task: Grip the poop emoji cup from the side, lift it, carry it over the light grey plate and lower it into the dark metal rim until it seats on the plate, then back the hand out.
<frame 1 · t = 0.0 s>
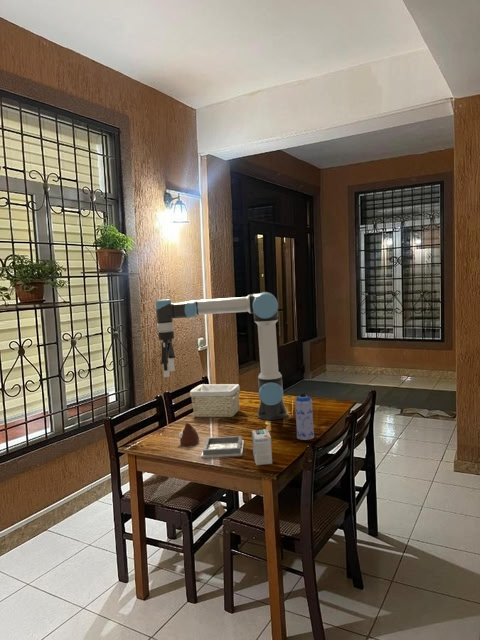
hand: (169, 374, 239), 28 cm above the table, tool pointing down, fingers open, 13 cm apart
aerosol can: (305, 437, 218), on the table
mousse holder: (223, 449, 209), on the table
poop emoji: (189, 443, 221), on the table
light bulb box: (262, 460, 195), on the table
storage basket: (217, 414, 264), on the table
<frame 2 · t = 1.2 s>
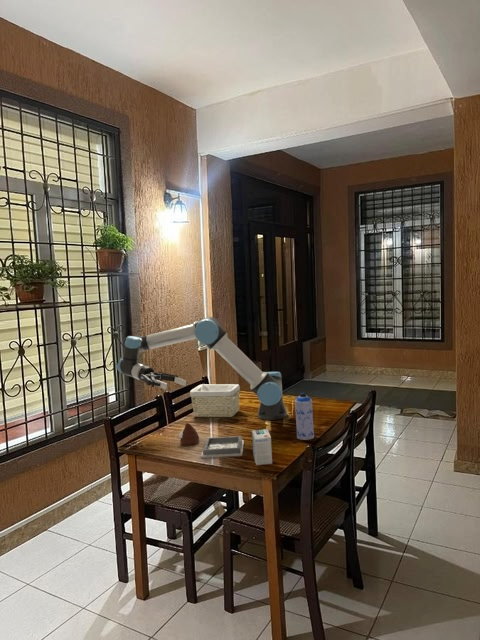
hand: (176, 384, 226), 25 cm above the table, tool horizontal, fingers open, 13 cm apart
nothing on the table moved.
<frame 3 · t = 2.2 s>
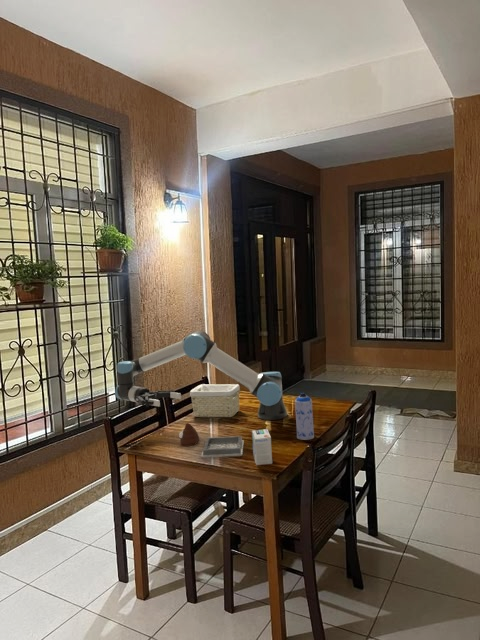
hand: (170, 399, 225), 19 cm above the table, tool horizontal, fingers open, 13 cm apart
nothing on the table moved.
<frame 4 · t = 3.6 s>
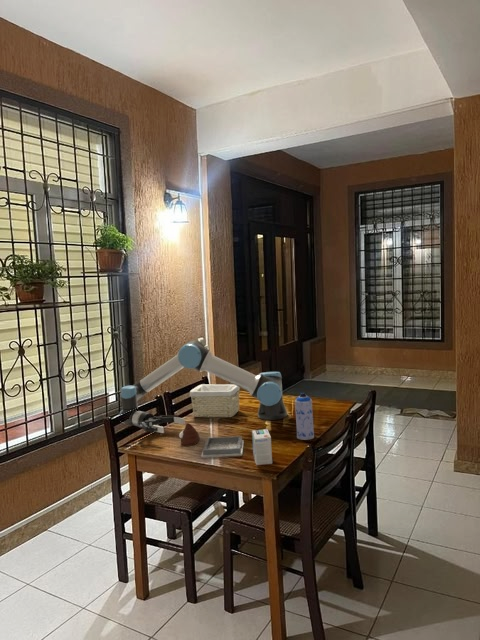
hand: (174, 425, 226), 6 cm above the table, tool horizontal, fingers open, 13 cm apart
nothing on the table moved.
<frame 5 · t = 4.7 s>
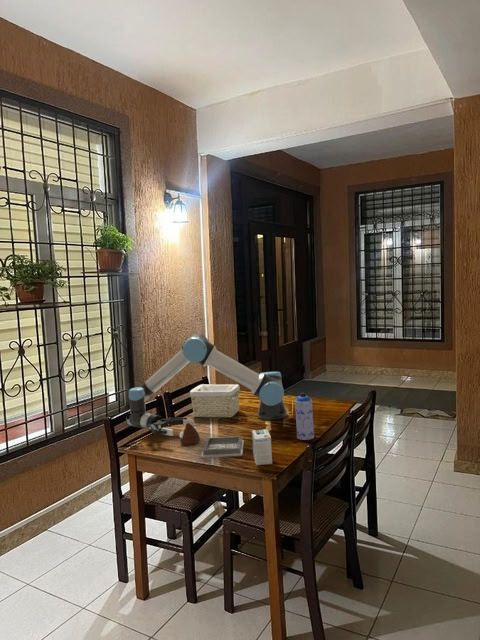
hand: (183, 428, 222), 6 cm above the table, tool horizontal, fingers open, 13 cm apart
nothing on the table moved.
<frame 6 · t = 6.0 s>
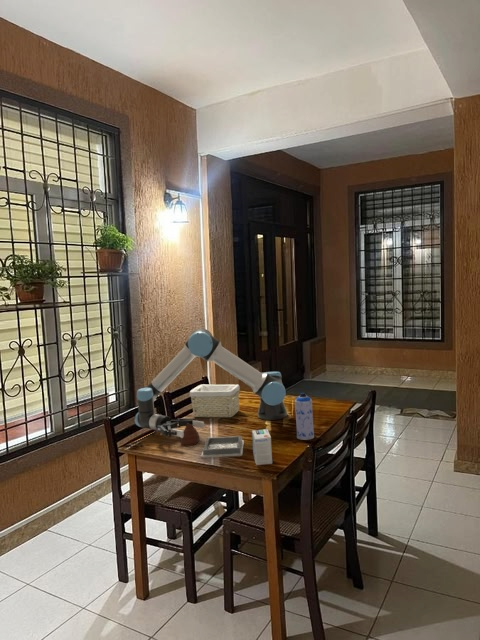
hand: (193, 429, 218), 6 cm above the table, tool horizontal, fingers open, 13 cm apart
nothing on the table moved.
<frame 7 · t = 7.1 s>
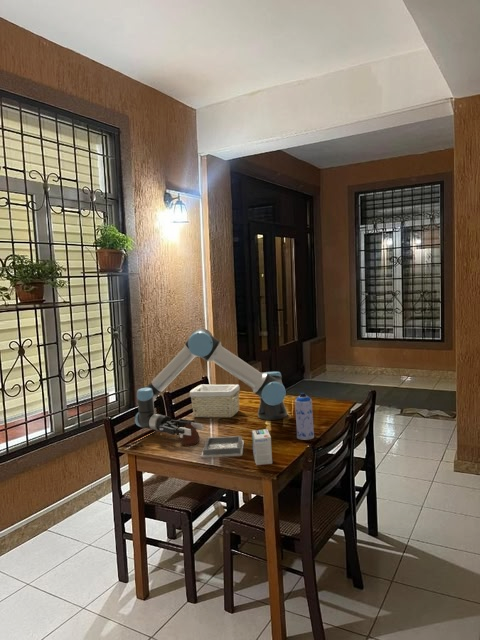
hand: (196, 429, 217), 7 cm above the table, tool horizontal, fingers closed on poop emoji, 7 cm apart
poop emoji: (190, 442, 221), on the table, touching gripper
everything else where it was.
when the fingers open (8 cm above the table, at t = 14.2 s): poop emoji stays where it is, resting on mousse holder.
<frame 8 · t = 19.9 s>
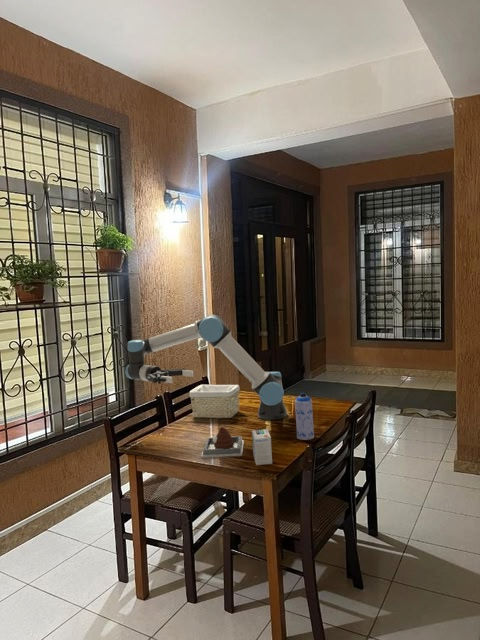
hand: (182, 376, 220), 30 cm above the table, tool horizontal, fingers open, 13 cm apart
poop emoji: (223, 447, 209), point 1 cm above the table, touching mousse holder
at the end: poop emoji 0.3 cm off-centre on the mousse holder, point 0.8 cm above the mousse holder's base; poop emoji tilted 0°; the gripper is holding nothing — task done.
